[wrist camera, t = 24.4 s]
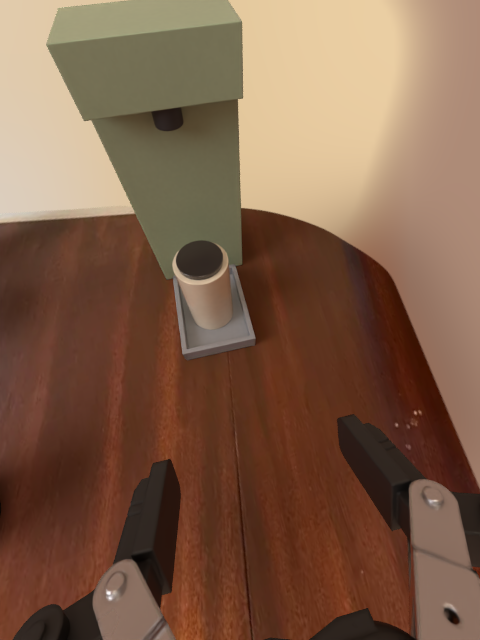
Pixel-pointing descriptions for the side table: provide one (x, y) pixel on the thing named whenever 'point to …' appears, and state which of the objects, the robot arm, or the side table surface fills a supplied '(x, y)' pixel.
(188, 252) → the cream travel cup
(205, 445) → the side table surface
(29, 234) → the side table surface
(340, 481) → the side table surface
